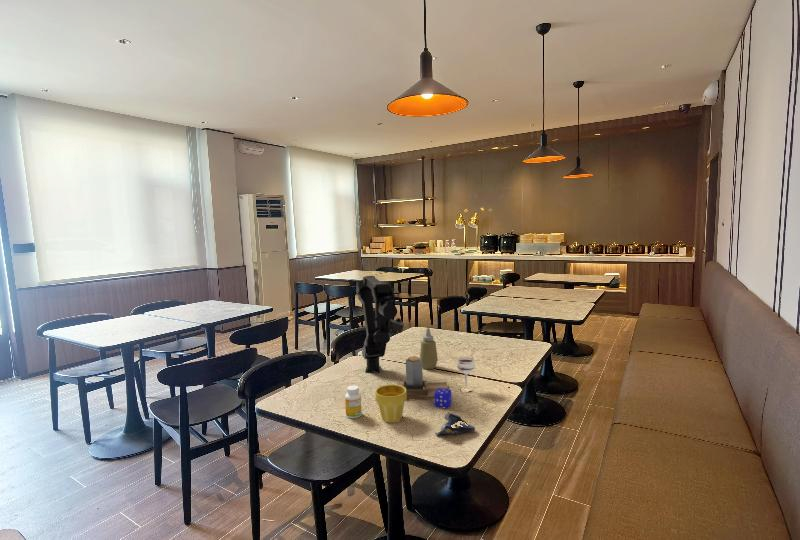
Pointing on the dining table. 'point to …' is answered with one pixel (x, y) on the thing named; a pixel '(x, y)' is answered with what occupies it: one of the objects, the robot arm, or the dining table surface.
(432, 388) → the chassis board
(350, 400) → the supplement bottle
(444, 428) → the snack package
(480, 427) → the dining table surface
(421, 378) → the grey faceted pillar
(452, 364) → the dining table surface
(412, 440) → the dining table surface
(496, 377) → the dining table surface
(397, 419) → the plant pot
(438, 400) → the die
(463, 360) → the wineglass
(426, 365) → the squeeze bottle
